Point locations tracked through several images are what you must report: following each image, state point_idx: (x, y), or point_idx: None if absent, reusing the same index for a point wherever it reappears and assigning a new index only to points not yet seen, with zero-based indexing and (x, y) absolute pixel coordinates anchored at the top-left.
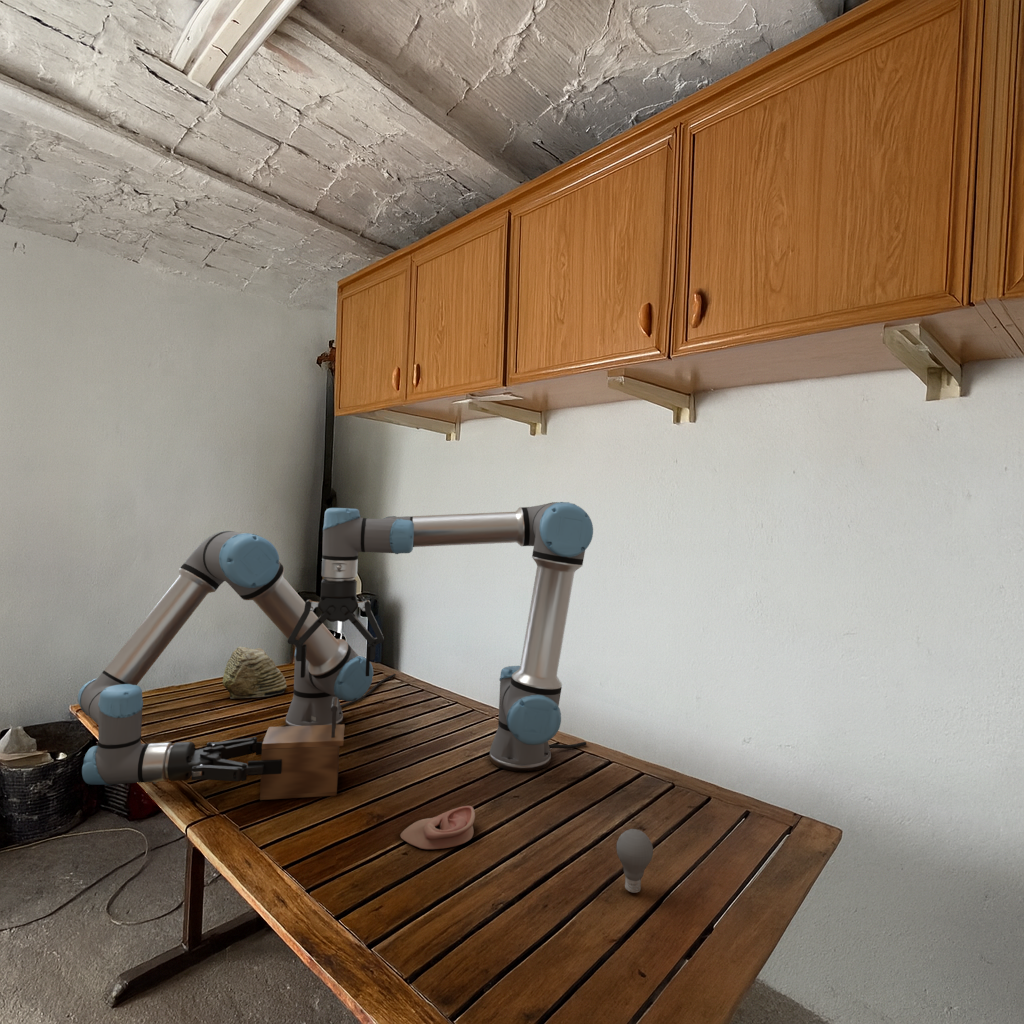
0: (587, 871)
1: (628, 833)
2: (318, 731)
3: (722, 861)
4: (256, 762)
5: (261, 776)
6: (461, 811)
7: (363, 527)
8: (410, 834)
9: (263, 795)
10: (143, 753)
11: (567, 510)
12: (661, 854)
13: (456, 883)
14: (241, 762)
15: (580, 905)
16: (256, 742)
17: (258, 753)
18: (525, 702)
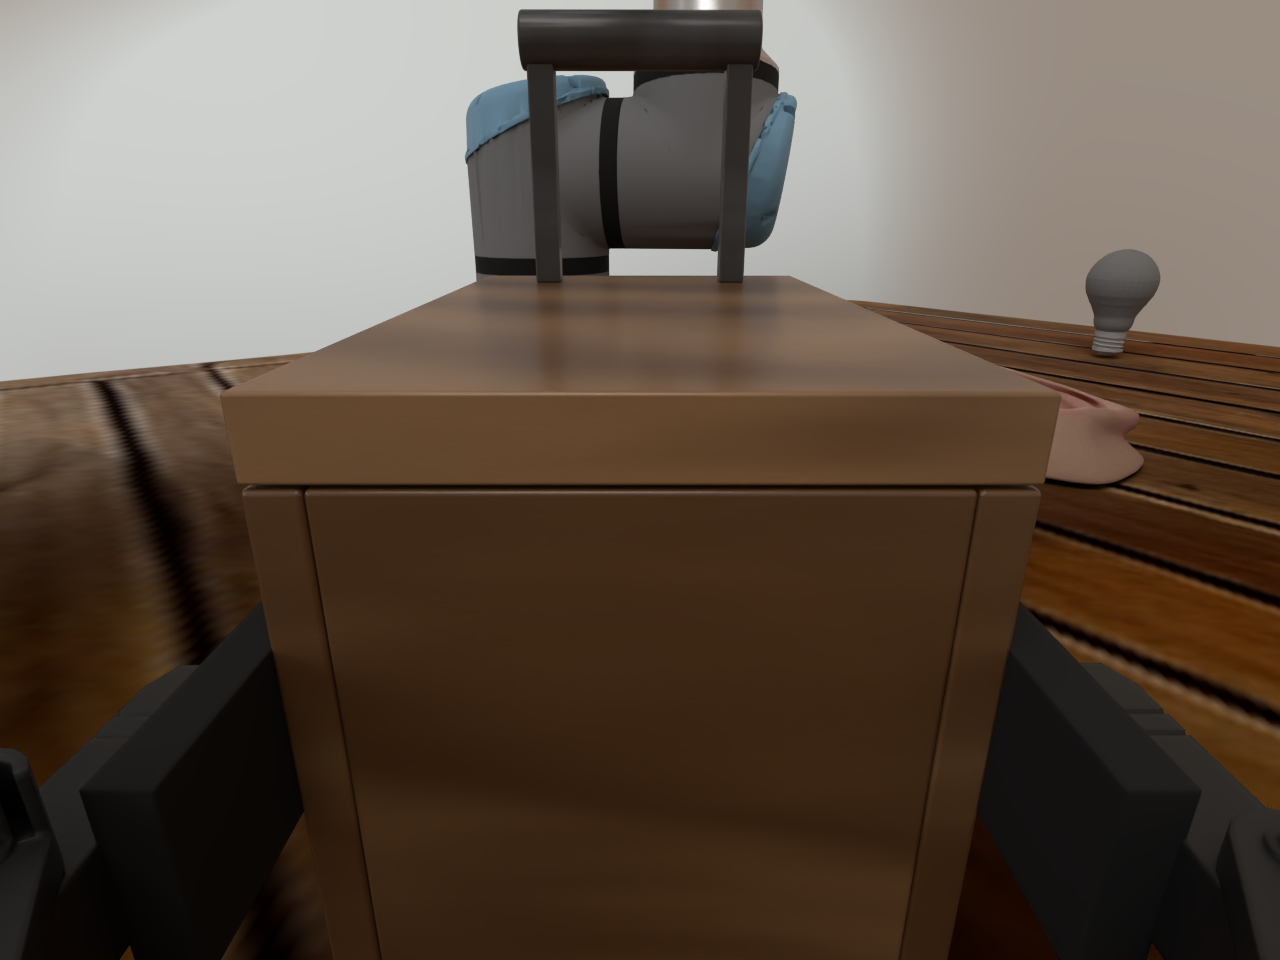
0: (1067, 368)
1: (1136, 253)
2: (604, 292)
3: (962, 326)
4: (1100, 697)
5: (964, 841)
6: None
7: None
8: (1106, 456)
9: None
10: None
11: None
12: (965, 340)
13: (1264, 442)
14: (1248, 923)
15: (1195, 378)
16: (41, 826)
17: (228, 917)
18: (795, 108)
